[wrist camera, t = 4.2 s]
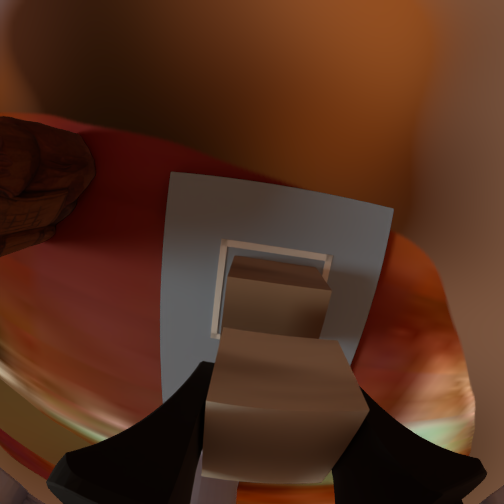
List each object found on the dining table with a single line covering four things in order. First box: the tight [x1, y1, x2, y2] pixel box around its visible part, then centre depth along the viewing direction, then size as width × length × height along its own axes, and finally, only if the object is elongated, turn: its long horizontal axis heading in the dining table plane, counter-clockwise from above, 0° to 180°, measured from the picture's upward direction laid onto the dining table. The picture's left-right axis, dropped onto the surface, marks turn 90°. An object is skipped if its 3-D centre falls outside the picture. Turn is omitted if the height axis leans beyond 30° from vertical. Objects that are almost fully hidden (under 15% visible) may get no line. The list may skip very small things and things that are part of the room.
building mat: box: [160, 172, 394, 403], centre depth 18 cm, size 20×14×1 cm
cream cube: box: [201, 327, 369, 484], centre depth 9 cm, size 4×4×4 cm
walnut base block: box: [219, 255, 332, 343], centre depth 15 cm, size 5×5×4 cm
